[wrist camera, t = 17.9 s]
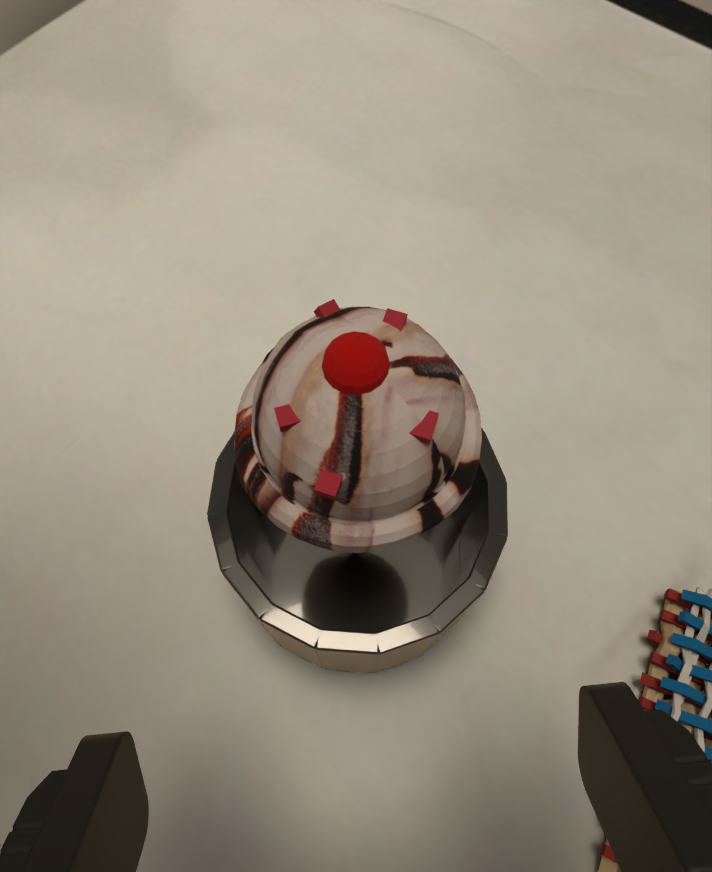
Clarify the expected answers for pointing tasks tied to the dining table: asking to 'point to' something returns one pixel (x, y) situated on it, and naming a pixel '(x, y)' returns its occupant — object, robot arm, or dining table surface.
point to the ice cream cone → (357, 431)
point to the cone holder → (359, 575)
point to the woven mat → (701, 627)
